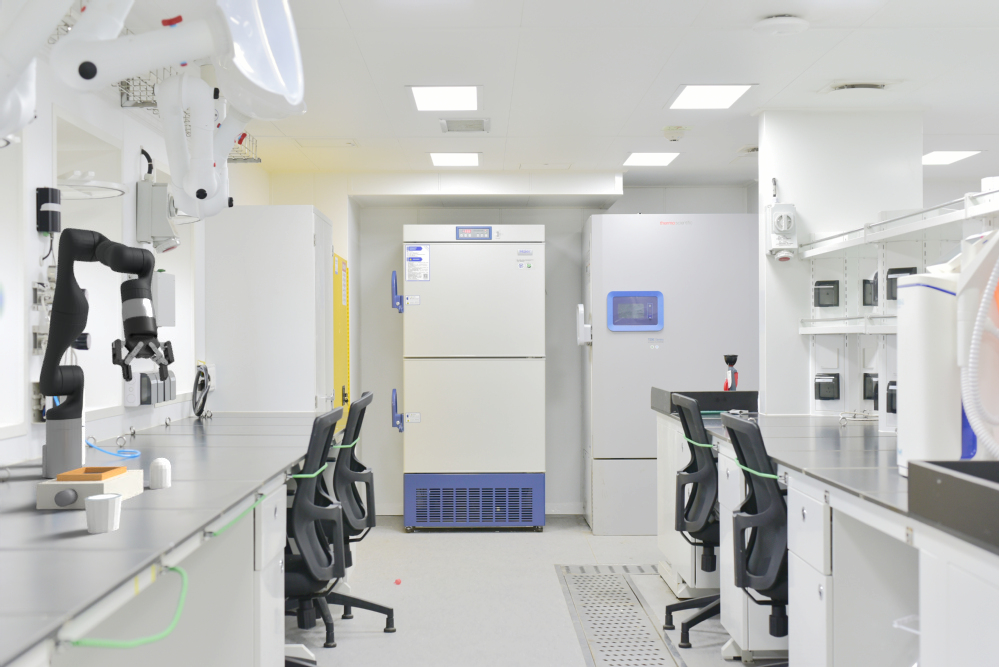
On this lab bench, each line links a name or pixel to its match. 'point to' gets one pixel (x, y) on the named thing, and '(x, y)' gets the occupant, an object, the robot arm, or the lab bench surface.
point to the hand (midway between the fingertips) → (146, 380)
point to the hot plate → (88, 486)
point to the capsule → (160, 474)
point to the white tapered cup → (103, 512)
